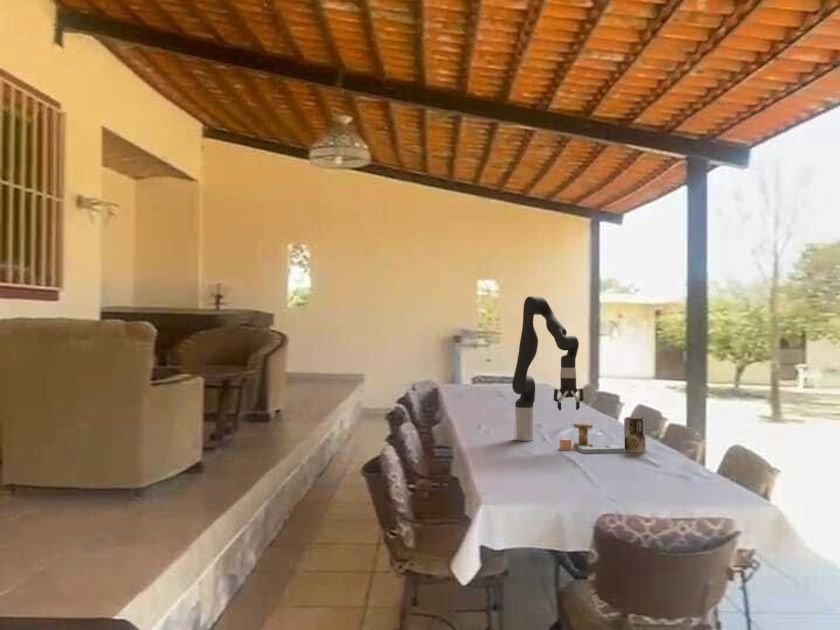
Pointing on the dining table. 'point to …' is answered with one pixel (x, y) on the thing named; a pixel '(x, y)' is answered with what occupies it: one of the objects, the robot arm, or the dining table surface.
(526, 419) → the robot arm
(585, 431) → the knob
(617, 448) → the notch board
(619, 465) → the dining table surface
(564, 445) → the orange block
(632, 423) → the coffee box
